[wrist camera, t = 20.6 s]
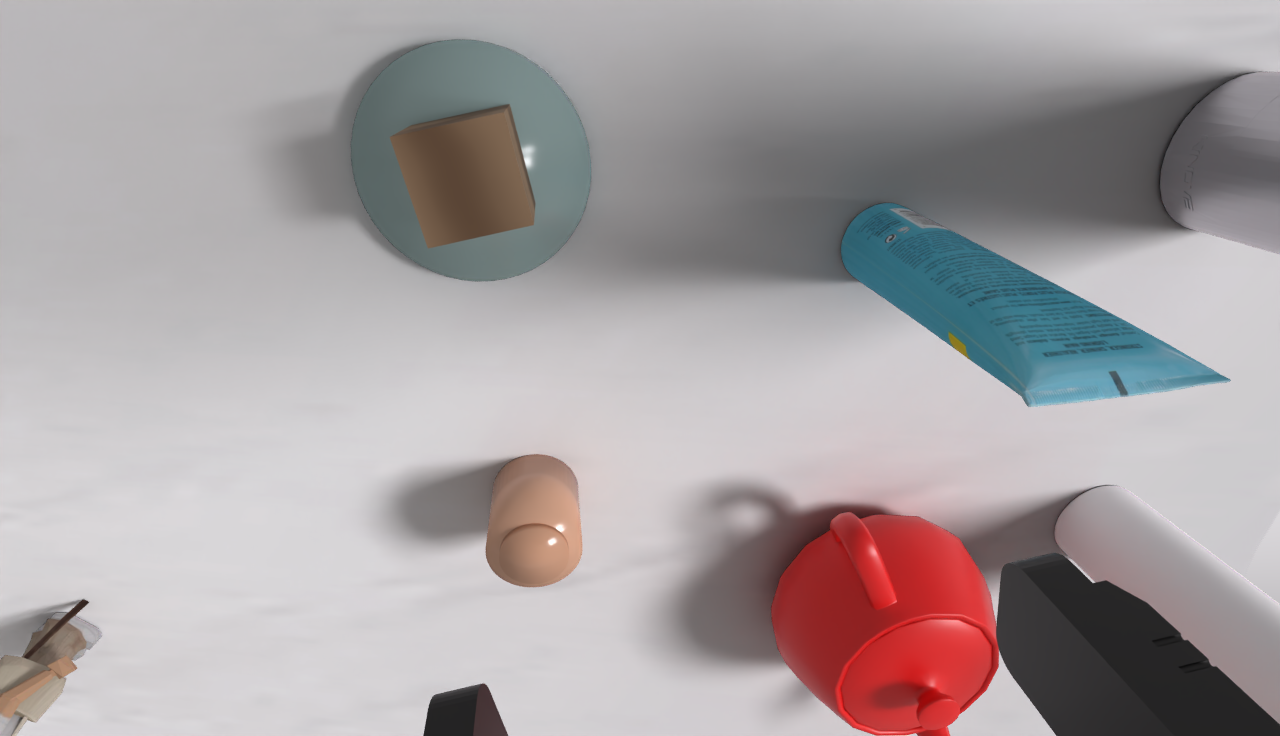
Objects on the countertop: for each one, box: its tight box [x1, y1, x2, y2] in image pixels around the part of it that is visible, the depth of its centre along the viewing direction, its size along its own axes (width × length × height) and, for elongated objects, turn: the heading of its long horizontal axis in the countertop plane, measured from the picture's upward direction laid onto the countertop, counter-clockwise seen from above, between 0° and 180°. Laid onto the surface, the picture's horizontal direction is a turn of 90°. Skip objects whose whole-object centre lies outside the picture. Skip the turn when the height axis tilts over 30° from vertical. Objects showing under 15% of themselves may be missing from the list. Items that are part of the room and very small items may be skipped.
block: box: [390, 104, 536, 248], centre depth 32 cm, size 5×5×5 cm
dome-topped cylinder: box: [486, 454, 582, 587], centre depth 41 cm, size 6×6×7 cm
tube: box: [841, 203, 1231, 407], centre depth 31 cm, size 7×5×19 cm, turn 99°
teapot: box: [771, 512, 999, 736], centre depth 46 cm, size 25×16×12 cm, turn 25°
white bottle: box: [1055, 485, 1280, 724], centre depth 41 cm, size 7×7×25 cm
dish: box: [351, 40, 591, 281], centre depth 35 cm, size 12×12×1 cm
